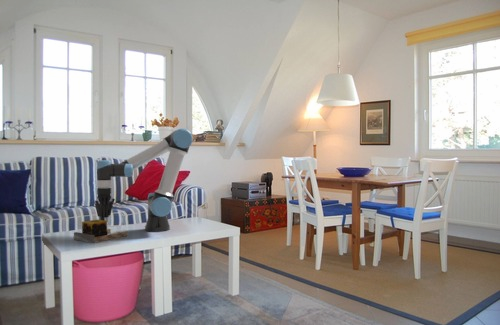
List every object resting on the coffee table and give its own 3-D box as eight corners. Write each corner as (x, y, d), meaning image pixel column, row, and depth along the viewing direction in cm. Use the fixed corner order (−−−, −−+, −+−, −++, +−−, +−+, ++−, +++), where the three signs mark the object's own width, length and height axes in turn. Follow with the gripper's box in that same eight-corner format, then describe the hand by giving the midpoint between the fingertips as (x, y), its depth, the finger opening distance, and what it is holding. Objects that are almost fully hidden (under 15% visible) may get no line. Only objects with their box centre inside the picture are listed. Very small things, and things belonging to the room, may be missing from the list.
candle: (91, 242, 213) (90, 223, 212) (81, 239, 219) (80, 221, 218) (108, 238, 221) (107, 220, 220) (98, 236, 227) (97, 219, 227)
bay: (109, 232, 238) (108, 226, 238) (126, 235, 229) (126, 229, 229) (73, 239, 219) (73, 232, 219) (92, 243, 210) (91, 235, 210)
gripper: (109, 186, 233) (109, 225, 234) (90, 187, 223) (90, 229, 224) (117, 187, 229) (117, 227, 230) (98, 188, 218) (98, 231, 219)
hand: (104, 228), depth 227 cm, fingers closed
